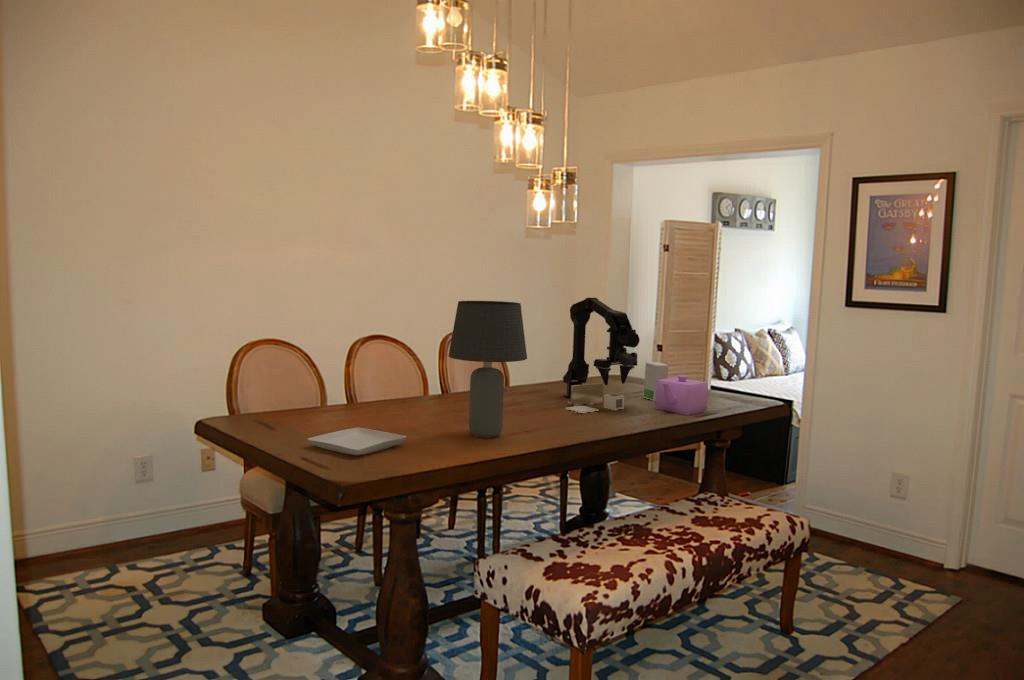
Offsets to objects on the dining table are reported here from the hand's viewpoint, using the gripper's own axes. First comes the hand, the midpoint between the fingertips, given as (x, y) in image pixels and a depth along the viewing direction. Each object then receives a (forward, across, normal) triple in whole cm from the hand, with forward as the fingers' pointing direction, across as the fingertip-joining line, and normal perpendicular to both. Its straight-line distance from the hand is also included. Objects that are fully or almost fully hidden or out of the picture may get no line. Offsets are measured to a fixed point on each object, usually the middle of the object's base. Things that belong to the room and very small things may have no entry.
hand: (614, 384), depth 298 cm
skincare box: (+10, +31, +7) cm, 33 cm away
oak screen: (+10, -3, +12) cm, 16 cm away
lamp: (+10, -71, -14) cm, 73 cm away
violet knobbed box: (+10, +21, -15) cm, 28 cm away
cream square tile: (+10, -14, +3) cm, 17 cm away
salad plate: (+10, -113, -8) cm, 114 cm away
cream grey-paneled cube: (+10, 0, 0) cm, 10 cm away
